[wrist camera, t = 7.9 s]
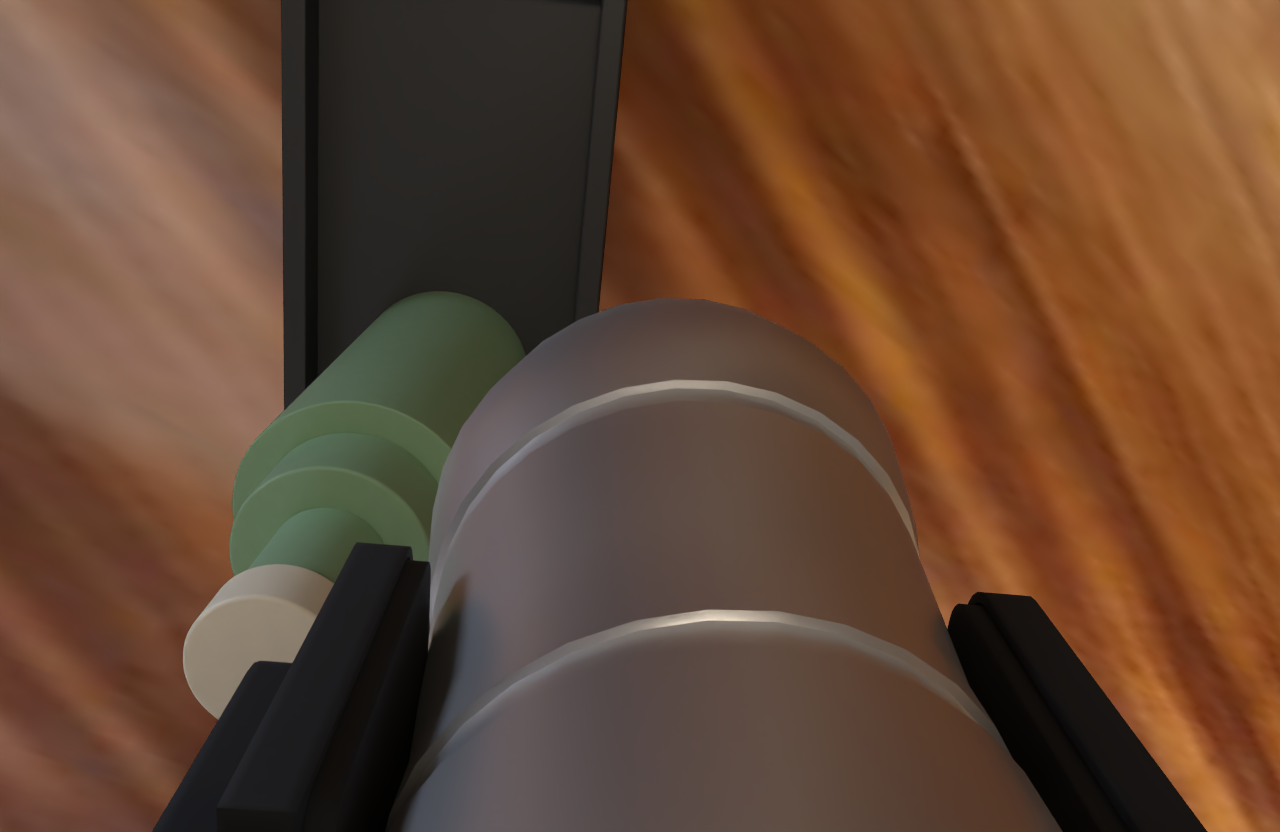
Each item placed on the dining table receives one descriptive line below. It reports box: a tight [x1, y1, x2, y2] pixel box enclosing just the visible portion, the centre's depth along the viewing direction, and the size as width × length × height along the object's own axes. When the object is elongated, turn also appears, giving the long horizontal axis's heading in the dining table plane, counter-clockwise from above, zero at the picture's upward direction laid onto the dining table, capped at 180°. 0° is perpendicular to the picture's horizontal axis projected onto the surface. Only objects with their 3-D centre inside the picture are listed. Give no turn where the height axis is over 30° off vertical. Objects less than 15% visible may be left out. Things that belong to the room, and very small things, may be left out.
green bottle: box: [183, 291, 526, 720], centre depth 30 cm, size 6×6×20 cm
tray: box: [281, 0, 628, 410], centre depth 39 cm, size 30×11×2 cm, turn 174°
